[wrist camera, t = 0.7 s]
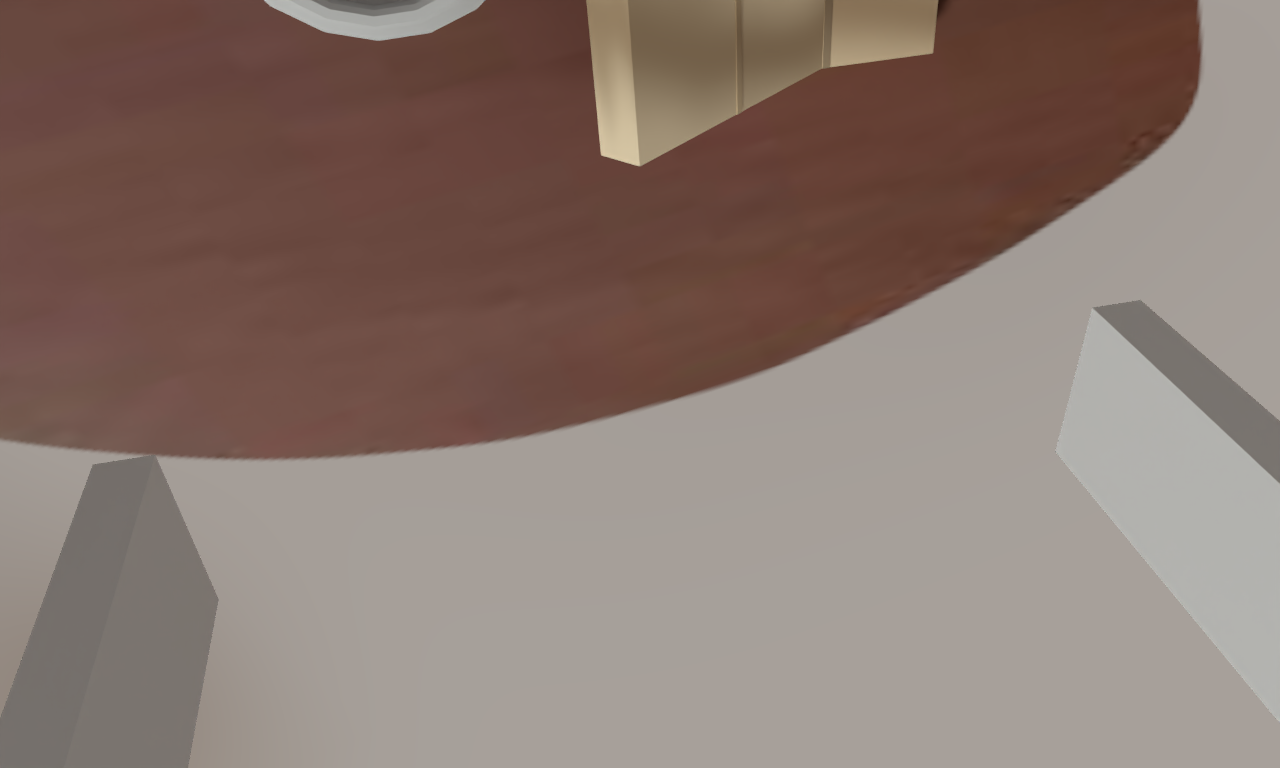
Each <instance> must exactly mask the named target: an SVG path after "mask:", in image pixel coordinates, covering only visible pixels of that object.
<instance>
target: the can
mask: <svg viewBox="0 0 1280 768" xmlns="http://www.w3.org/2000/svg"><path fill="white" fill-rule="evenodd" d="M264 1H266V2H267V3H268V4H269V5H270V6H271V7H273V8H275V9H277V10H280V11H282V12H284V13H286V14H288V15H290V16H292V17H294V18H296V19H298V20H300V21H302V22H304V23H307V24H309V25H311V26H313V27H315V28H317V29H319V30H321V31H323V32H328V33H334V34H340V35H346V36H352V37H359V38H365V39H371V40H377V41H380V40H387V39H393V38H400V37H406V36H413V35H419V34H426V33H431V32H433V31H435V30H437V29H439V28H441V27H443V26H445V25H447V24H449V23H451V22H453V21H455V20H456V19H458V18H460V17H462V16H464V15H466V14H468V13H470V12H472V11H474V10H476V9H477V8H478V7H479V6H480V5H481V4H482V3H483V2H484V1H485V0H264Z"/></svg>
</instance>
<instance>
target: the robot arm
mask: <svg viewBox="0 0 1280 768" xmlns="http://www.w3.org/2000/svg"><path fill="white" fill-rule="evenodd" d="M1055 452H1056V453H1057V454H1058V456H1059V457H1060V458H1061V459H1062V461H1063V462H1064V463H1065V464H1066V465H1067V466H1068V468H1069V469H1070V470H1071V471H1072V473H1074V475H1075V476H1076V477H1077V479H1078V480H1079V481H1080V482H1081V483H1082V485H1083V486H1084V487H1085V488H1086V490H1088V492H1089V493H1090V494H1091V496H1092V497H1093V498H1094V499H1095V500H1096V502H1097V503H1098V504H1099V505H1100V506H1101V508H1102V509H1103V510H1104V511H1105V513H1106V514H1107V515H1108V516H1109V517H1110V518H1111V520H1112V521H1113V522H1114V523H1115V524H1116V526H1117V527H1118V528H1119V529H1120V531H1121V532H1122V533H1123V534H1124V535H1125V537H1126V538H1127V539H1128V540H1129V542H1130V543H1131V544H1132V545H1133V546H1134V547H1135V549H1136V550H1137V551H1138V552H1139V554H1140V555H1141V556H1142V557H1143V558H1144V560H1145V561H1146V562H1147V563H1148V565H1149V566H1150V567H1151V568H1152V569H1153V571H1154V572H1155V573H1156V574H1157V575H1158V576H1159V578H1160V579H1161V580H1162V581H1163V583H1164V584H1165V585H1166V586H1167V587H1168V589H1169V590H1170V591H1171V592H1172V594H1173V595H1174V596H1175V597H1176V598H1177V600H1178V601H1179V602H1180V603H1181V604H1182V606H1183V607H1184V608H1185V609H1186V610H1187V612H1188V613H1189V614H1190V615H1191V616H1192V618H1193V619H1194V620H1195V621H1196V623H1197V624H1198V625H1199V626H1200V627H1201V629H1202V630H1203V631H1204V632H1205V633H1206V635H1207V636H1208V637H1209V638H1210V639H1211V641H1212V642H1213V643H1214V644H1215V646H1216V647H1217V648H1218V649H1219V650H1220V651H1221V653H1222V654H1223V655H1224V656H1225V658H1226V659H1227V660H1228V661H1229V662H1230V664H1231V665H1232V666H1233V667H1234V668H1235V670H1236V671H1237V672H1238V673H1239V674H1240V676H1241V677H1242V678H1243V679H1244V681H1245V682H1246V683H1247V684H1248V685H1249V687H1250V688H1251V689H1252V690H1253V691H1254V692H1255V694H1256V695H1257V696H1258V697H1259V699H1260V700H1261V701H1262V702H1263V704H1264V705H1265V706H1266V707H1267V708H1268V710H1269V711H1270V712H1271V713H1272V714H1273V715H1274V717H1275V718H1276V719H1277V720H1278V722H1279V723H1280V421H1279V420H1278V419H1277V418H1275V417H1274V416H1273V415H1272V414H1271V413H1270V412H1268V411H1267V410H1266V409H1265V408H1264V407H1263V406H1262V405H1261V404H1259V403H1258V402H1257V401H1256V400H1255V399H1254V398H1252V397H1251V396H1250V395H1249V394H1248V393H1247V392H1245V391H1244V390H1243V389H1242V388H1241V387H1240V386H1238V384H1236V383H1235V382H1234V381H1233V380H1232V379H1231V378H1229V377H1228V376H1227V375H1226V374H1225V373H1224V372H1223V371H1221V370H1220V369H1219V368H1218V367H1217V366H1216V365H1214V364H1213V363H1212V362H1211V361H1210V360H1209V359H1208V358H1206V357H1205V356H1204V355H1203V354H1202V353H1201V352H1199V351H1198V350H1197V349H1196V348H1195V347H1194V346H1193V345H1191V344H1190V343H1189V342H1188V341H1187V340H1186V339H1185V338H1183V337H1182V336H1181V335H1180V334H1179V333H1178V332H1177V331H1175V330H1174V329H1173V328H1172V327H1171V326H1170V325H1168V324H1167V323H1166V322H1165V321H1164V320H1163V319H1162V318H1160V317H1159V316H1158V315H1157V314H1156V313H1155V312H1153V311H1152V310H1151V309H1150V308H1149V307H1148V306H1146V305H1145V304H1144V303H1143V302H1142V301H1140V300H1139V301H1132V302H1126V303H1119V304H1113V305H1107V306H1101V307H1094V308H1092V311H1091V315H1090V319H1089V323H1088V327H1087V331H1086V335H1085V339H1084V342H1083V346H1082V350H1081V354H1080V358H1079V362H1078V366H1077V370H1076V374H1075V377H1074V381H1073V385H1072V389H1071V393H1070V397H1069V401H1068V405H1067V409H1066V412H1065V416H1064V420H1063V424H1062V428H1061V432H1060V436H1059V440H1058V444H1057V447H1056V451H1055ZM217 605H218V597H217V595H216V593H215V590H214V588H213V586H212V583H211V581H210V579H209V577H208V574H207V572H206V570H205V567H204V565H203V563H202V560H201V558H200V556H199V554H198V551H197V549H196V547H195V545H194V542H193V540H192V538H191V536H190V533H189V531H188V529H187V526H186V524H185V522H184V520H183V517H182V515H181V513H180V510H179V508H178V506H177V504H176V501H175V499H174V497H173V494H172V492H171V490H170V488H169V485H168V483H167V481H166V479H165V476H164V474H163V472H162V469H161V467H160V465H159V463H158V460H157V458H156V456H155V455H151V456H145V457H139V458H132V459H127V460H120V461H113V462H107V463H101V464H95V465H93V466H92V469H91V471H90V474H89V477H88V480H87V482H86V485H85V488H84V490H83V493H82V496H81V499H80V501H79V504H78V507H77V510H76V512H75V515H74V518H73V521H72V523H71V526H70V529H69V532H68V534H67V537H66V540H65V542H64V545H63V548H62V551H61V553H60V556H59V559H58V562H57V565H56V567H55V570H54V573H53V575H52V578H51V581H50V583H49V586H48V589H47V592H46V595H45V597H44V600H43V603H42V606H41V608H40V611H39V614H38V617H37V619H36V622H35V625H34V627H33V630H32V633H31V635H30V638H29V641H28V644H27V646H26V649H25V652H24V655H23V657H22V660H21V663H20V666H19V669H18V671H17V674H16V677H15V679H14V682H13V685H12V688H11V690H10V693H9V696H8V699H7V701H6V704H5V707H4V710H3V712H2V715H1V718H0V768H188V764H189V759H190V753H191V747H192V742H193V736H194V731H195V725H196V720H197V715H198V709H199V704H200V698H201V692H202V687H203V682H204V676H205V670H206V665H207V659H208V654H209V648H210V643H211V637H212V632H213V627H214V621H215V615H216V610H217Z"/></svg>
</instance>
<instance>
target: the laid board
mask: <svg viewBox="0 0 1280 768" xmlns="http://www.w3.org/2000/svg"><path fill="white" fill-rule="evenodd" d="M937 8H938V0H824V26H823V52H822V68H823V69H824V68H830V67H835V66H843V65H850V64H857V63H865V62H872V61H880V60H887V59H894V58H902V57H909V56H917V55H924V54H931V53H933V47H934V37H935V28H936V18H937Z"/></svg>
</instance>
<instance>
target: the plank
mask: <svg viewBox="0 0 1280 768" xmlns="http://www.w3.org/2000/svg"><path fill="white" fill-rule="evenodd" d="M586 1H587V11H588V22H589V32H590V43H591V54H592V64H593V75H594V85H595V96H596V106H597V117H598V127H599V138H600V148H601V155H602V156H606V157H609V158H612V159H616V160H619V161H623V162H626V163H629V164H633V165H636V166H642V165H643V164H645V163H647V162H649V161H651V160H653V159H655V158H656V157H658V156H660V155H662V154H664V153H666V152H668V151H669V150H671V149H673V148H675V147H677V146H679V145H681V144H682V143H684V142H686V141H688V140H690V139H692V138H694V137H695V136H697V135H699V134H701V133H703V132H705V131H707V130H708V129H710V128H712V127H714V126H716V125H718V124H720V123H721V122H723V121H725V120H727V119H729V118H731V117H732V116H734V115H736V114H737V115H738V114H740V113H741V112H742V111H744V110H745V109H747V108H749V107H751V106H753V105H755V104H757V103H758V102H760V101H762V100H764V99H766V98H768V97H770V96H771V95H773V94H775V93H777V92H779V91H781V90H783V89H784V88H786V87H788V86H790V85H792V84H794V83H796V82H797V81H799V80H801V79H803V78H805V77H807V76H809V75H810V74H812V73H814V72H816V71H818V70H820V69H822V52H823V26H824V0H586Z"/></svg>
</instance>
